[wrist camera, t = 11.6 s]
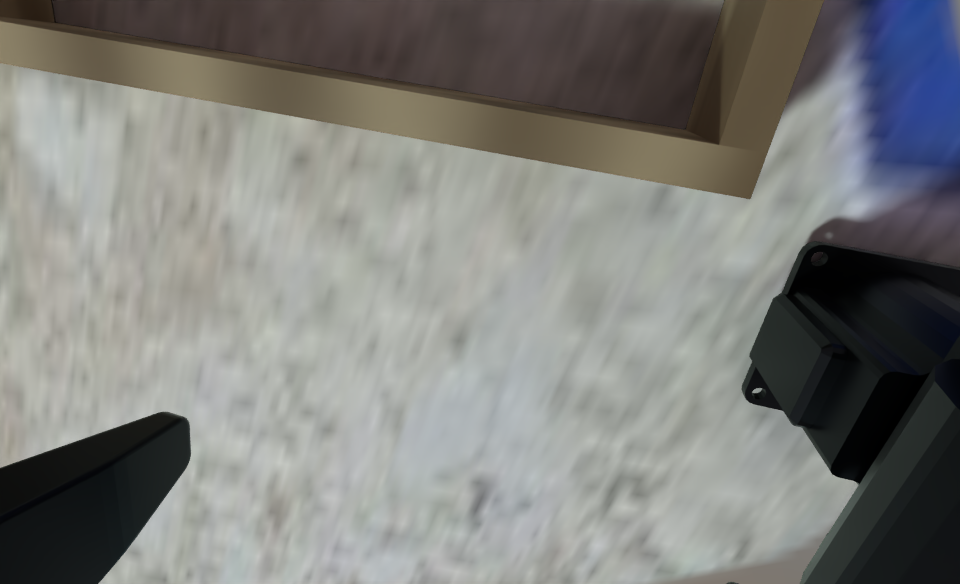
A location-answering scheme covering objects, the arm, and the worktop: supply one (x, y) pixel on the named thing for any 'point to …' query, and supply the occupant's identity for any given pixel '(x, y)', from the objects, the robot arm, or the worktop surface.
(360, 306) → the worktop surface
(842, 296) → the robot arm
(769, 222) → the worktop surface
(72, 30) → the three-sided wooden wall
